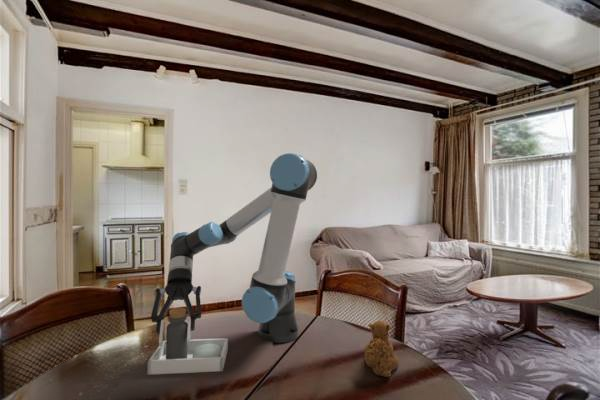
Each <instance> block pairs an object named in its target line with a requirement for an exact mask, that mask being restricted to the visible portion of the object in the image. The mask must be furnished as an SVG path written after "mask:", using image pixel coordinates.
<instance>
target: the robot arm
mask: <svg viewBox="0 0 600 400" xmlns="http://www.w3.org/2000/svg"><path fill="white" fill-rule="evenodd" d="M269 169H270V170H269V177H270V180H271V182H272V184H271V187H270V188H268V189H267V190H265V191H264V192H263V193H261V194H260V195H259V196H258V197H256V198H254V199H253V200H252V201H250V202H249V203H247V204H246V205H245V206H243V207H242V208H241V209H239V210H238V211H237V212H235V213H234V214H233V215H230V217H228V218H227V219H226V220H224V221H223V222H221V223H220V224H218V223H216V222H213V221H210V222H208V223H206V224H203V225H202V226H200V227H198V228H196V229H195V230H193V231H191V232H189V231H188V232H187V231H182V232H177V233H176V234H174V235H173V237H172V240H171V244H170V253H169V254H170V256H169V263H168V274H167V280H166V281H167V282H166V285H165V287H164V288H159V287H158V288H156V289H155V295H156V296H155V300H154V303H153V307H152V311H151V315H150V319H151V320H150V321H151V323H156V328H155V331H156V332H155V333H156V334H157V335H158V336H159V338H158V347H160V346H162V344H163V341H164V335H165V334H164V332H165V325H166V324H165V320H164V319H165V317H166V316H167V313H168V312H169V311H170V307H171V305H172V304H173V302H174V301H178V300H179V301H183V302H184V305H185V308H186V311H187V313H188V315H189V317H187V319H188V320H187V324H188V331H187V344H188V343H190V340H191V332H192V331H193V332H194V331H195V329H196V328H195V327H196V326H195V325H196V320H197V319H201V318H202V306H201V305H202V304H201V293H202V287H201V286H200V285H198V286H194V285H193V284H192V283H193V280H192V279H193V264H194V263H193V261H194V256H195V255H197V254H199V253H200V252H202V251H204V250H206V249H209V248H212V247H217V246H222V245H226V244H227V245H228V244H230V243H233V242H234V241H235V240H236V239H237V237H238V236H239V235H240V234H242V233H243V232H245V231H246V230H248V229H249V228H251V227H252V226H254V225H255V224H256V223H258V222H259V221H260V220H262V219H264V218H265V217H267V216H268V215H269V214H270V215H269V221H268V224H267V230H266V234H265V238H264V243H263V247H262V252H261V257H260V260H259V261H260V262H259V265H258V270H256V271H254V272H253V273H252V275H251V280H250V284H249V288H247V289H246V290H245V292H244V293H243V295H242V296H241V297H242V298H241V307H242V310H243V312H244V314H245V315H246V317H247V318H249V319H250V320H251V321H253V322H254V323H258V328H257V334H258V336H259V337H260V338H262V339H264V340H267V341H271V342H272V343H273V344H275V343H276V344H281V343H282V344H284V343H288V342H292V341H294V340H296V339H298V337H299V336H300V327H299V323H298V320H297V317H296V313H295V310H296V309H295V308H296V302H295V301H296V275H295V273H294V272H292V271H286V268H287V264H288V259H289V256H290V255H289V254H290V251H291V248H292V247H291V246H292V240H293V238H294V232H295V228H296V223H297V219H298V214H299V210H300V205H301V204H302V203H304V202H306V200H307V196H308V192H309V191H310V190H311V189H313V187H314V186H315V184H316V183H317V180H318V171H317V168H316V166H315V165H314V163H312V162H311V161H310V160H308V159H307V158H305V157H303V156H302V155H300V154H297V153H292V152H291V153H283V154H281V155H279V156H278V157H277V158H276V159H274V160H273V162H272V164H271V166H270V167H269ZM192 292H193V295H195V305H196V306H195V308H196V312H195V311H194V308H193V306H192V303H191V300H190V297H189V295H190V294H191V293H192ZM164 294H166V295H167V298H166V300H165V302H164V305H163V306H162V308H161V310H160V313H159V309H160V306H161V303H162V297H163V296H164Z"/></svg>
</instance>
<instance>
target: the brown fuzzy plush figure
mask: <svg viewBox="0 0 600 400" xmlns="http://www.w3.org/2000/svg"><path fill="white" fill-rule="evenodd" d="M367 326H368V327H369V329H368V330H369V331H370V332H371V334H372V335H371V337H372V338H371V339H370V340H369V343H367V345H365V347H364V348H363V349H362V350H363V352H364V354H363V356H364V360H365V364H367V365H366V366H367V367H369V368H371V369H372V372H373V373H374V374H375V375H377V376H378V375H380V376H382V377H383V376H384V377H383V378H389V377H390V376H392V374H391V373H392V371H394V370H396V369H397V368H399V364H400V363H399V362H400V361H399V358H398V357H397V355H396V353H395V352H394V346H393V343H392V342H391V339H390V338H389V337H390V335H389V334H390V333H389V331H390V329H391V328H392V325H391V324H389V323H386V322H385V321H383V320H377V321H375V322H373V323H368V325H367ZM388 376H389V377H388Z"/></svg>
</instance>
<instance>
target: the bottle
mask: <svg viewBox="0 0 600 400" xmlns="http://www.w3.org/2000/svg"><path fill="white" fill-rule="evenodd" d="M168 312H169V316H168V318H167V319H168V322H169V323H168V325H167V326H166V335H165V337H166V339H165V340H166V359H184V358H187V331H188V322H186V320H187V319H188V317H187V308H186V307H175V308H171V309H169V310H168Z"/></svg>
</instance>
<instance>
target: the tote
mask: <svg viewBox="0 0 600 400" xmlns="http://www.w3.org/2000/svg"><path fill="white" fill-rule="evenodd" d="M203 344H216V345H219V346H220V348H221V357H208V358H193V349H194V348H196V347H197V346H200V345H203ZM228 348H229V337H227V338H226V337H225V338H223V337H222V338H221V337H220V338H203V339H202V338H198V339H190V343H188V344H187V358H184V359H166V339H165V340H163V344H162V346H160V347H159V346H158V347H157V348H156V350H155V351H154V352H153V354H151V356H150V358H149V359H148V360H147V373H146V374H147V376H148V375H149V376H150V375H151V376H152V375H167V374H168V375H169V374H190V373H191V374H193V373H208V372H209V373H210V372H211V373H212V372H224V368H225V363H226V358H227V355H228V352H229V351H228V350H229V349H228Z"/></svg>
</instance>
